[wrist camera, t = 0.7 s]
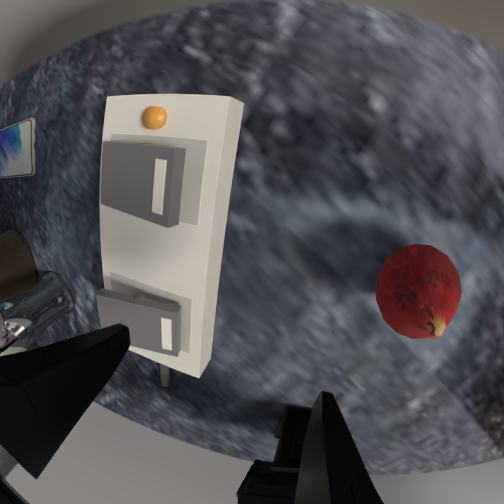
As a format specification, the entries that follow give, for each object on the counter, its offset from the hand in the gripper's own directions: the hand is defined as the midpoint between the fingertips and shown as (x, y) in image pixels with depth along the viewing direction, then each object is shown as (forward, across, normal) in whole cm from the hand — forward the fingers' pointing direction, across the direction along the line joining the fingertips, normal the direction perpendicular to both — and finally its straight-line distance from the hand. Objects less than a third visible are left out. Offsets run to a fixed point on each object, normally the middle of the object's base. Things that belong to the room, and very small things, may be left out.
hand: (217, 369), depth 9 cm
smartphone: (+13, +37, -4) cm, 40 cm away
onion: (+13, -10, -1) cm, 16 cm away
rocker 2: (+8, +9, +7) cm, 14 cm away
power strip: (+13, +9, +5) cm, 17 cm away
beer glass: (+13, +26, +13) cm, 32 cm away
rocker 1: (+8, +9, -4) cm, 13 cm away
